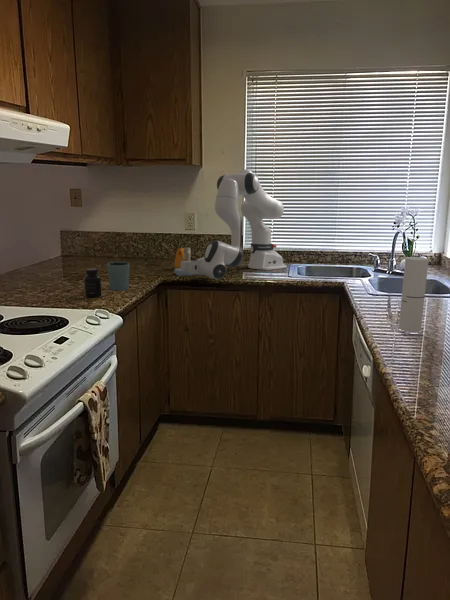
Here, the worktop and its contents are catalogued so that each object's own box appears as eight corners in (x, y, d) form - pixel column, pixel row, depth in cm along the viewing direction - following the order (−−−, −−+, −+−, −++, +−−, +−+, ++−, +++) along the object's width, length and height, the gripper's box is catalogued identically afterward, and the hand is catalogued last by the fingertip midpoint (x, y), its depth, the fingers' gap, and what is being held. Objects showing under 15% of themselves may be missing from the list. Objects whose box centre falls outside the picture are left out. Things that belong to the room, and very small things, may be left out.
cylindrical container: (415, 335, 163) (423, 261, 157) (395, 331, 168) (401, 258, 162) (423, 331, 168) (431, 258, 162) (403, 327, 173) (410, 256, 167)
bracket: (195, 269, 279) (195, 248, 276) (185, 271, 275) (184, 249, 272) (184, 267, 287) (184, 246, 284) (174, 268, 283) (174, 247, 280)
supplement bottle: (88, 294, 217) (86, 267, 214) (103, 294, 217) (102, 267, 214) (83, 298, 211) (81, 270, 208) (99, 298, 210) (97, 270, 208)
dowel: (189, 273, 269) (189, 247, 265) (191, 274, 265) (191, 248, 262) (183, 273, 267) (182, 247, 264) (184, 274, 264) (184, 248, 261)
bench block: (195, 271, 272) (195, 267, 271) (200, 274, 265) (200, 269, 264) (174, 273, 268) (174, 268, 267) (178, 275, 261) (178, 271, 260)
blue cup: (118, 285, 236) (117, 260, 233) (135, 287, 231) (134, 262, 228) (103, 289, 227) (102, 263, 224) (121, 292, 223) (120, 265, 220)
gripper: (224, 258, 248) (212, 254, 260) (186, 261, 239) (176, 257, 251) (224, 270, 250) (212, 266, 262) (187, 274, 241) (176, 269, 253)
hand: (194, 262), depth 256 cm, fingers open, 8 cm apart
